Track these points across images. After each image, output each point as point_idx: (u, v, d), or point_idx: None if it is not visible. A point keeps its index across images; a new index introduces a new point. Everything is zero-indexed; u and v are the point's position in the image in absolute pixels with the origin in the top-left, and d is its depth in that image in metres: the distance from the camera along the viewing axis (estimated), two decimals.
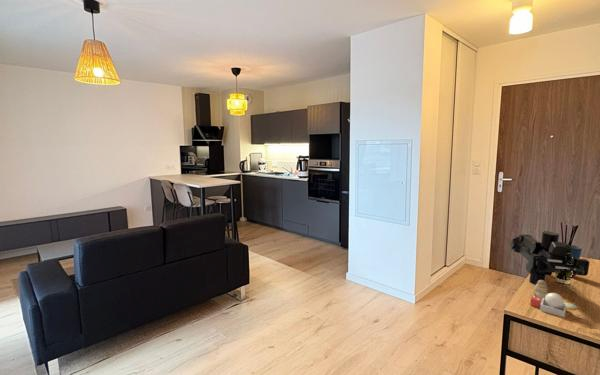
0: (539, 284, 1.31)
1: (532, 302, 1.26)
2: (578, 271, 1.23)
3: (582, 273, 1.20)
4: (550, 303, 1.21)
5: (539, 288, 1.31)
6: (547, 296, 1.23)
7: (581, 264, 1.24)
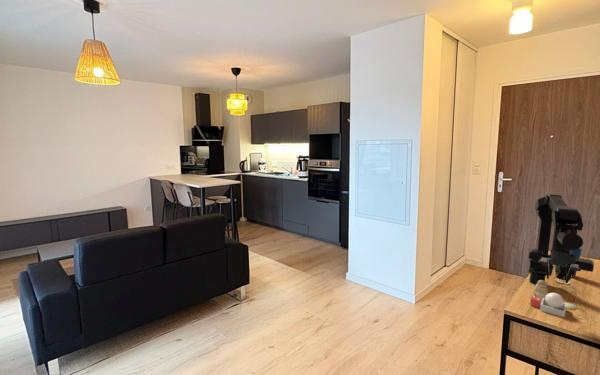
0: (539, 284, 1.31)
1: (532, 302, 1.26)
2: (568, 272, 1.19)
3: None
4: (550, 303, 1.21)
5: (539, 288, 1.31)
6: (547, 296, 1.23)
7: (573, 271, 1.16)
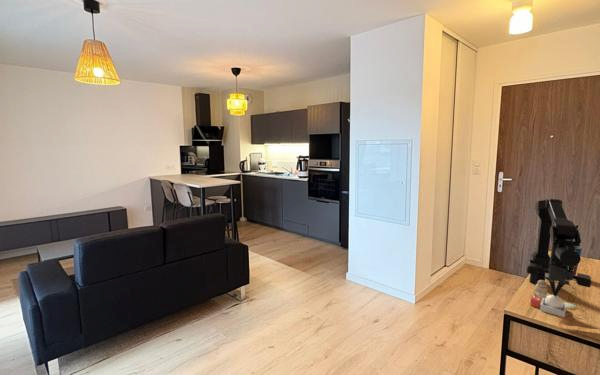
0: (539, 284, 1.31)
1: (532, 302, 1.26)
2: None
3: None
4: (550, 305, 1.21)
5: (539, 288, 1.31)
6: (547, 298, 1.23)
7: (562, 284, 1.19)
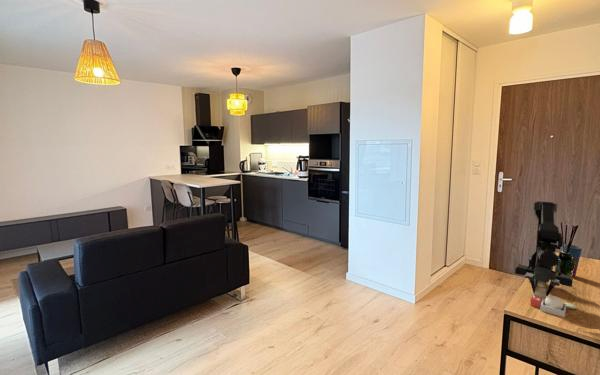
0: (539, 284, 1.31)
1: (532, 302, 1.26)
2: (549, 285, 1.31)
3: None
4: (550, 306, 1.22)
5: (539, 288, 1.31)
6: (547, 299, 1.23)
7: (552, 285, 1.28)
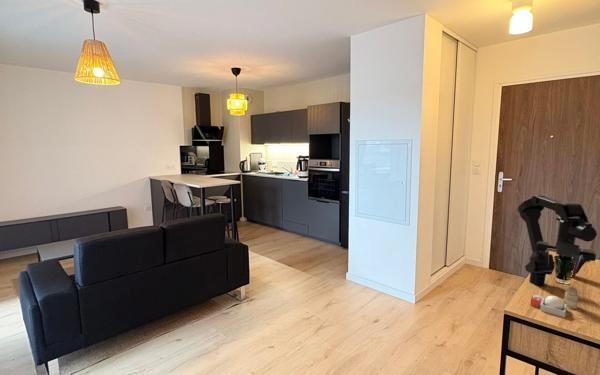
0: (569, 292, 1.25)
1: (532, 302, 1.26)
2: None
3: (576, 271, 1.29)
4: (550, 306, 1.22)
5: (569, 296, 1.25)
6: (547, 299, 1.23)
7: (583, 262, 1.25)
